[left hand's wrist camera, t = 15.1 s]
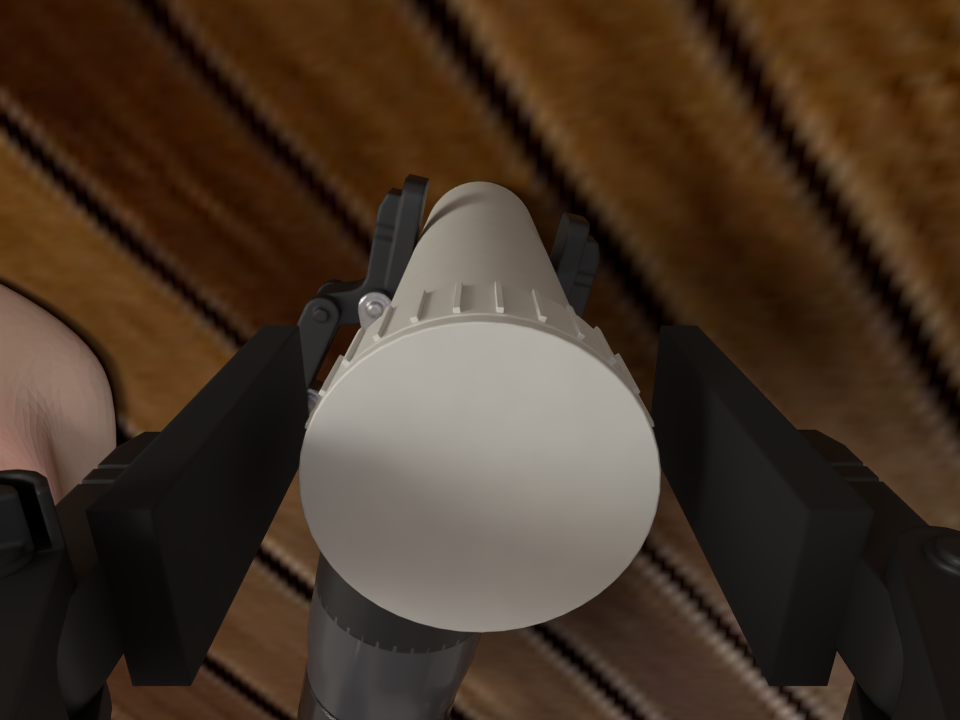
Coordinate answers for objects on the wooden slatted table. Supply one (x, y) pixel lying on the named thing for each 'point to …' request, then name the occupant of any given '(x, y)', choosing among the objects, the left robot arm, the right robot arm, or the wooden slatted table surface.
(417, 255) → the jar
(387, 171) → the wooden slatted table surface
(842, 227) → the wooden slatted table surface
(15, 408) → the anatomical model
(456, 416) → the lid
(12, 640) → the left robot arm
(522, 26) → the wooden slatted table surface
